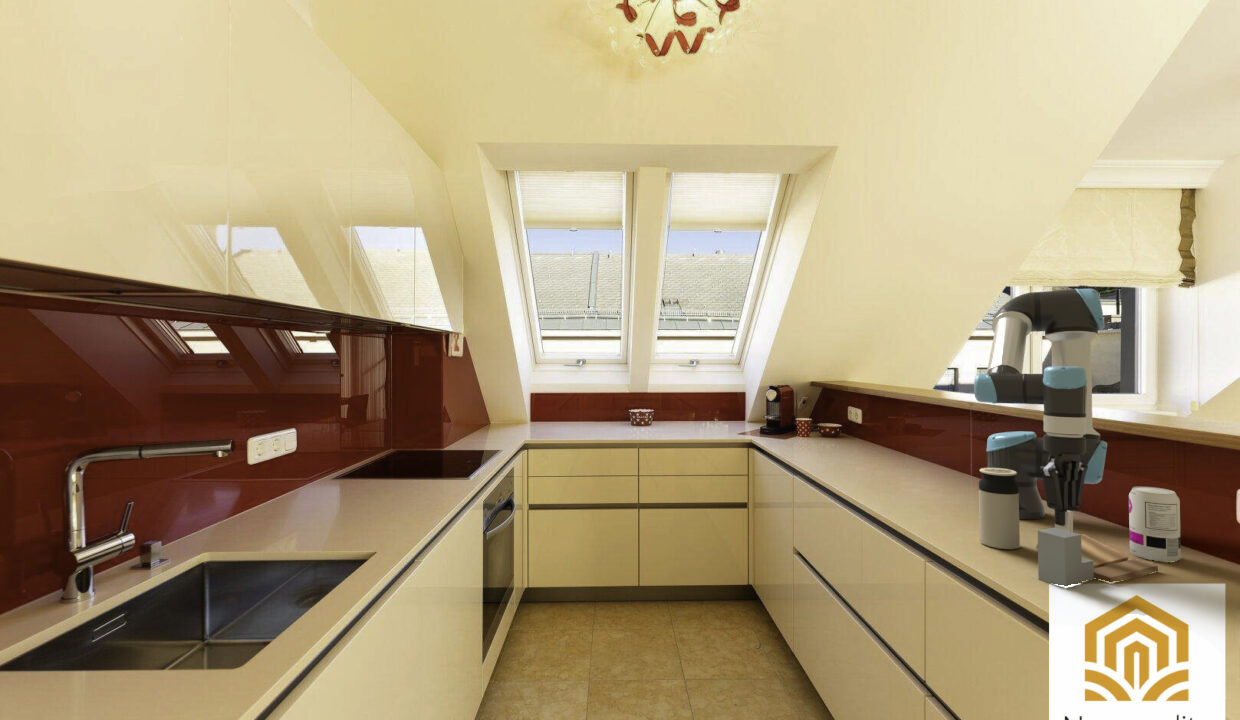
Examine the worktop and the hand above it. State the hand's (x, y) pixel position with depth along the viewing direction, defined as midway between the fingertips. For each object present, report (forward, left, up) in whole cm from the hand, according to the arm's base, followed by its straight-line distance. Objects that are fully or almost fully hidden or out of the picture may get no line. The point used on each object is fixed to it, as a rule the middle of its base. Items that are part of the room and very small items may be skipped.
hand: (1063, 538), depth 123 cm
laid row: (0, +11, -4) cm, 12 cm away
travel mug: (+5, -11, -5) cm, 13 cm away
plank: (0, +3, -3) cm, 4 cm away
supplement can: (-18, +8, -5) cm, 20 cm away
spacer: (+13, +8, -4) cm, 16 cm away
